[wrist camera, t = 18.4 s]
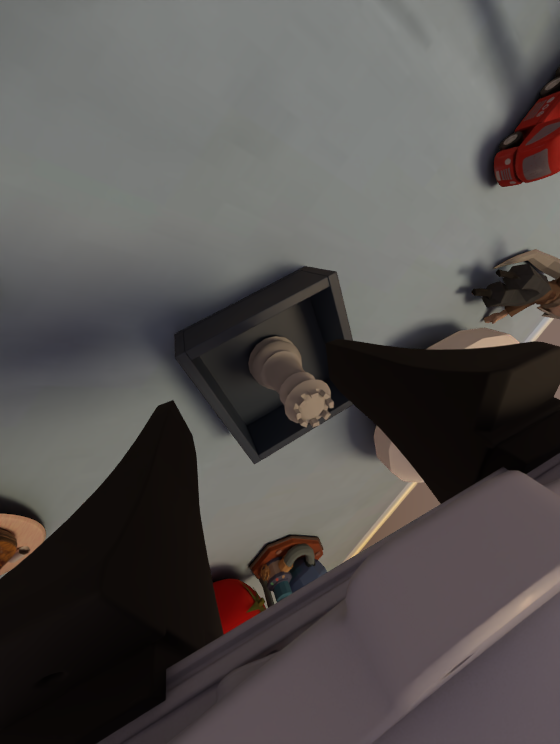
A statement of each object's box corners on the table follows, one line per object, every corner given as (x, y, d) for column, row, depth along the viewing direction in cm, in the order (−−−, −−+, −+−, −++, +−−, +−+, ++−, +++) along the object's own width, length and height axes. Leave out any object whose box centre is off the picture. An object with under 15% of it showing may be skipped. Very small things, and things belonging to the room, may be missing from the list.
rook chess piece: (304, 356, 23) (358, 403, 16) (269, 390, 23) (309, 450, 16) (274, 323, 20) (323, 362, 14) (235, 361, 20) (265, 419, 14)
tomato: (117, 652, 27) (221, 552, 30) (175, 623, 36) (250, 548, 39) (158, 834, 20) (287, 681, 23) (216, 741, 30) (304, 640, 33)
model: (331, 538, 41) (367, 607, 33) (298, 575, 42) (326, 649, 34) (276, 533, 34) (305, 617, 26) (239, 577, 36) (257, 669, 28)
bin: (242, 431, 24) (254, 464, 21) (174, 334, 18) (174, 357, 15) (338, 374, 26) (366, 396, 22) (305, 265, 20) (336, 271, 16)
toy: (564, 259, 19) (692, 282, 22) (517, 192, 22) (633, 220, 25) (451, 335, 28) (551, 344, 31) (429, 280, 32) (522, 292, 35)
